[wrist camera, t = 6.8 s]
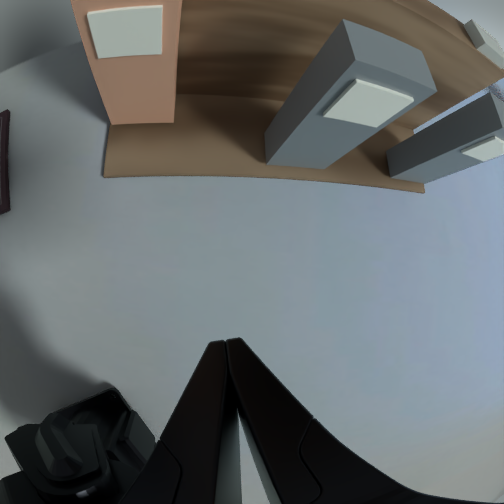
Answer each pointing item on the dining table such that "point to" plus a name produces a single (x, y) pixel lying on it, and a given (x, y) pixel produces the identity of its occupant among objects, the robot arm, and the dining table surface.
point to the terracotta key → (132, 56)
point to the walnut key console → (290, 86)
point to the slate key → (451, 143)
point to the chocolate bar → (4, 162)
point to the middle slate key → (347, 97)
